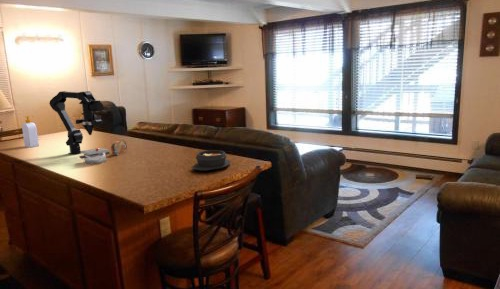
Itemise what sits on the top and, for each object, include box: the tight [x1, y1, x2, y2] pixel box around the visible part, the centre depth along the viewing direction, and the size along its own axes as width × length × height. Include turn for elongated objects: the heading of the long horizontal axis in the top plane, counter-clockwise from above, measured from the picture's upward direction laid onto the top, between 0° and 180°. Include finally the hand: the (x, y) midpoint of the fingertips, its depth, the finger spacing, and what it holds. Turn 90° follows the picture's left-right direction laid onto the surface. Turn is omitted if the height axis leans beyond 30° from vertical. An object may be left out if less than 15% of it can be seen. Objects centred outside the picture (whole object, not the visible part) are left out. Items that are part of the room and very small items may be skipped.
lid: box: [80, 147, 110, 155], centre depth 225 cm, size 13×12×3 cm
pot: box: [79, 151, 110, 165], centre depth 226 cm, size 12×17×5 cm
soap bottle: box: [21, 115, 40, 148], centre depth 280 cm, size 9×7×23 cm
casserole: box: [191, 149, 232, 172], centre depth 205 cm, size 25×19×8 cm
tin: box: [110, 139, 128, 156], centre depth 247 cm, size 15×3×8 cm, turn 168°
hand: (90, 135), depth 245 cm, fingers closed
